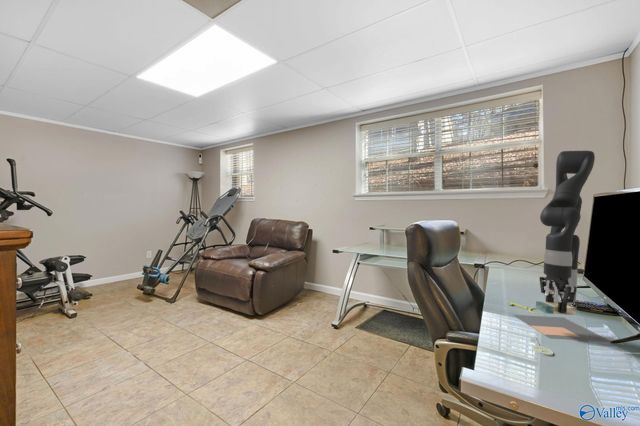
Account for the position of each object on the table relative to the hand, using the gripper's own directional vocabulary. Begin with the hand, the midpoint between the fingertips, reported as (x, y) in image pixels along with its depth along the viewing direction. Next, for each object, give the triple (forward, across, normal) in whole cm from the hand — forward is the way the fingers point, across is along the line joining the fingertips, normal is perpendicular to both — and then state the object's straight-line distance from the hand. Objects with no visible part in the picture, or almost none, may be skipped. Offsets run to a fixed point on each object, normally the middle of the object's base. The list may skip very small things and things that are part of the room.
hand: (555, 309), depth 96 cm
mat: (+8, +4, -4) cm, 10 cm away
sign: (+9, -10, +12) cm, 18 cm away
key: (+9, +22, -5) cm, 25 cm away
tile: (+1, 0, 0) cm, 1 cm away
